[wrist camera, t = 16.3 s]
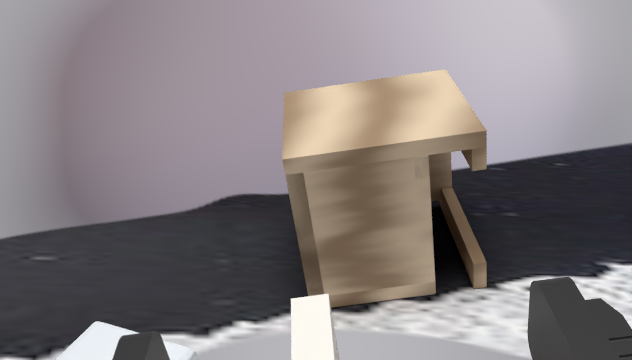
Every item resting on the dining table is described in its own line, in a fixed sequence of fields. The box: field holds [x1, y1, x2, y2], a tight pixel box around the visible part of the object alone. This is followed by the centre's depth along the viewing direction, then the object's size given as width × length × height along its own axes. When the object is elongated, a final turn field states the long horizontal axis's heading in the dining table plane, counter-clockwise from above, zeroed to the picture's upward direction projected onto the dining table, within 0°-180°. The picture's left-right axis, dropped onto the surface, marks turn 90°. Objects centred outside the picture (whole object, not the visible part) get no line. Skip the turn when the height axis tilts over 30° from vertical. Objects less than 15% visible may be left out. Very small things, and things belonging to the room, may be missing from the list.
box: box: [283, 69, 486, 308], centre depth 40 cm, size 11×10×11 cm
